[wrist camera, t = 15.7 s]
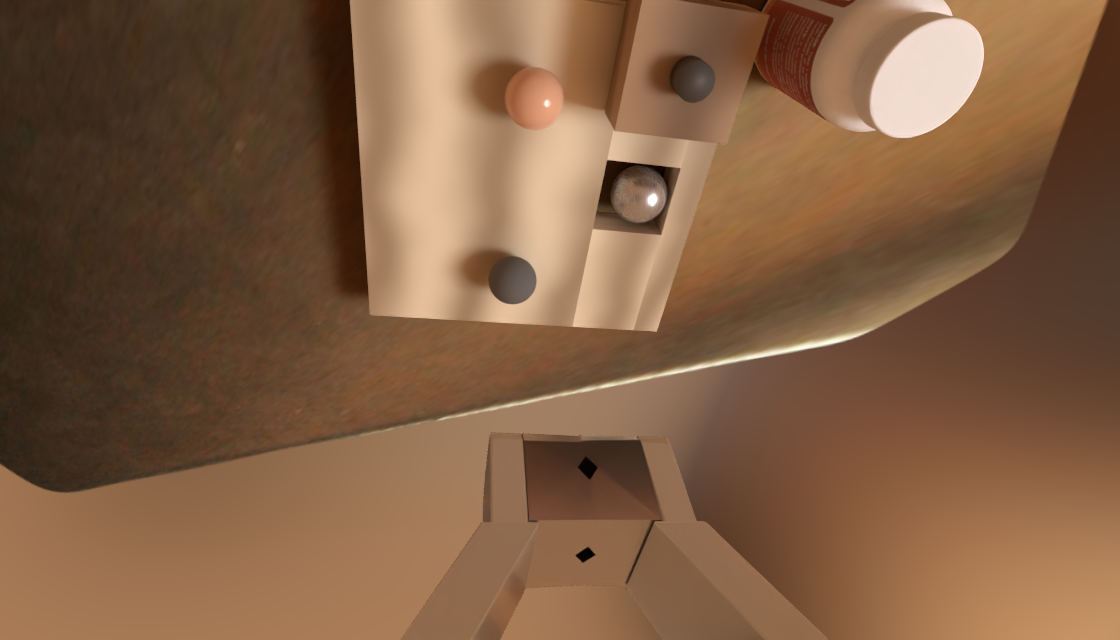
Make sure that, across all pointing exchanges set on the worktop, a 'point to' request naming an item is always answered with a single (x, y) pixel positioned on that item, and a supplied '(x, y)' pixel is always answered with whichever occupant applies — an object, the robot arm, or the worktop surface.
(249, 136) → the worktop surface
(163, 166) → the worktop surface
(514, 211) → the board
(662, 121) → the cover
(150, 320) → the worktop surface
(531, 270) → the black rubber ball
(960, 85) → the pill bottle
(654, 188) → the steel ball
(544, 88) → the terracotta ball
